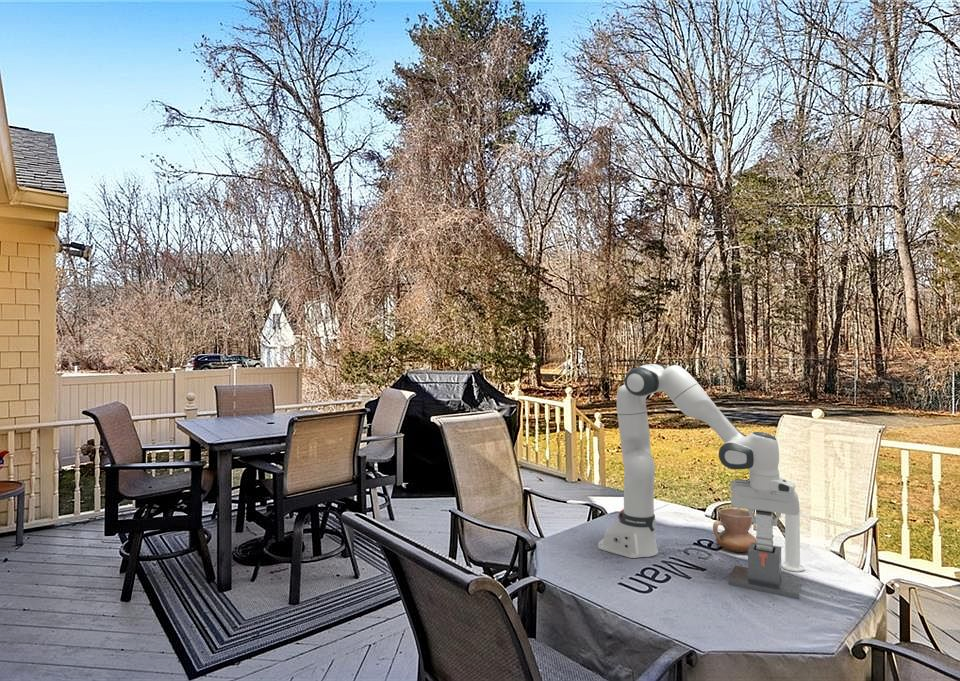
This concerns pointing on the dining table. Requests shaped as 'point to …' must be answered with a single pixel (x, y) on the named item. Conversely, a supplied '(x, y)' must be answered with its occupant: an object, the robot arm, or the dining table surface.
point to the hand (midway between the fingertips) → (764, 524)
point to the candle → (792, 543)
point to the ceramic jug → (734, 529)
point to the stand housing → (765, 574)
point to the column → (764, 531)
